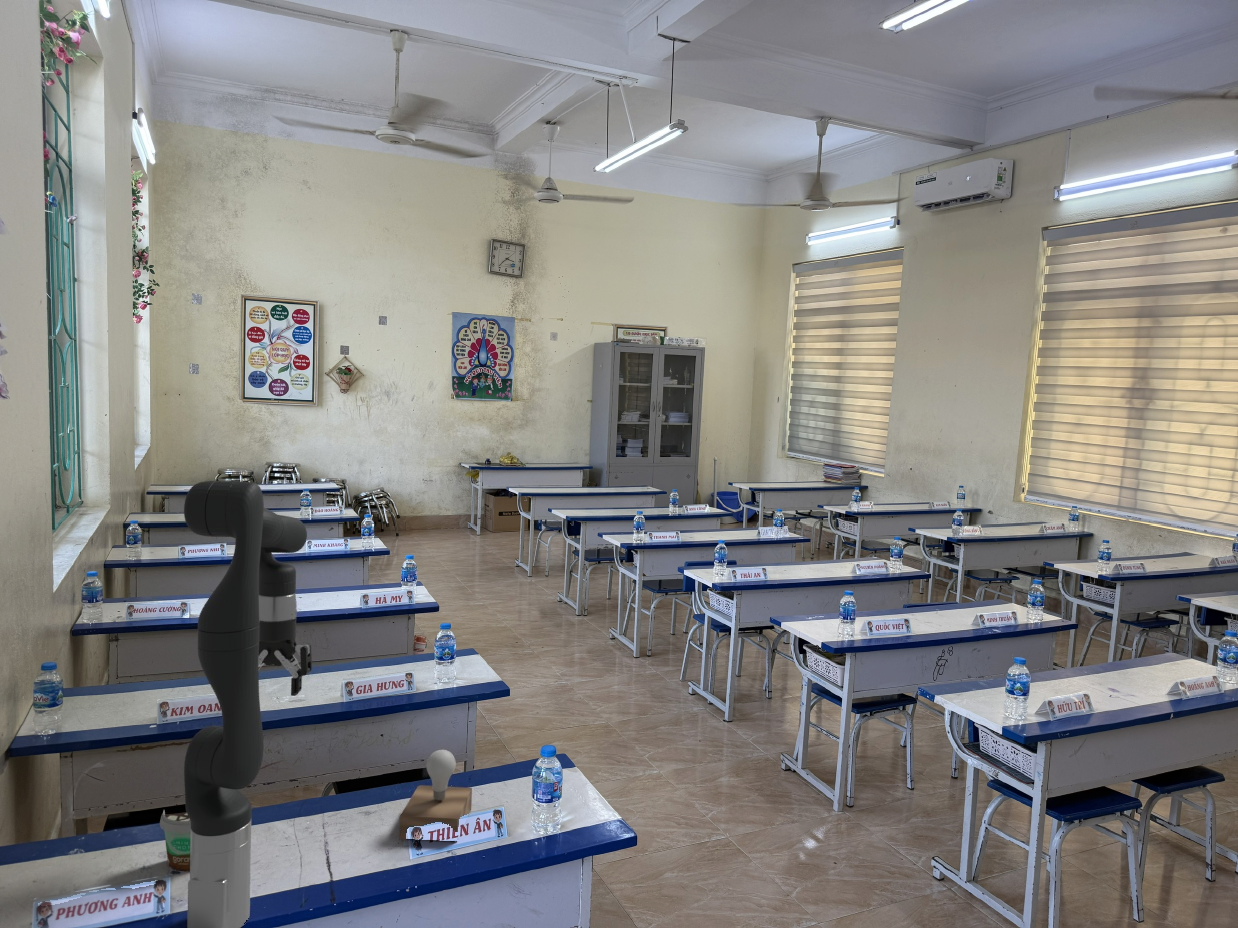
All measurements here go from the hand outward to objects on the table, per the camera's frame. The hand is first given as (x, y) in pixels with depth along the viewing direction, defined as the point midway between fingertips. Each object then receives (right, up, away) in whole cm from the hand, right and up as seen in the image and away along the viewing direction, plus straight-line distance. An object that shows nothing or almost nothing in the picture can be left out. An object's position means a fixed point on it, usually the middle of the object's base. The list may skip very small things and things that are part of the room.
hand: (274, 693), depth 162 cm
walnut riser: (+31, -30, +8) cm, 44 cm away
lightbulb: (+32, -26, +8) cm, 42 cm away
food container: (-11, -30, -11) cm, 34 cm away
